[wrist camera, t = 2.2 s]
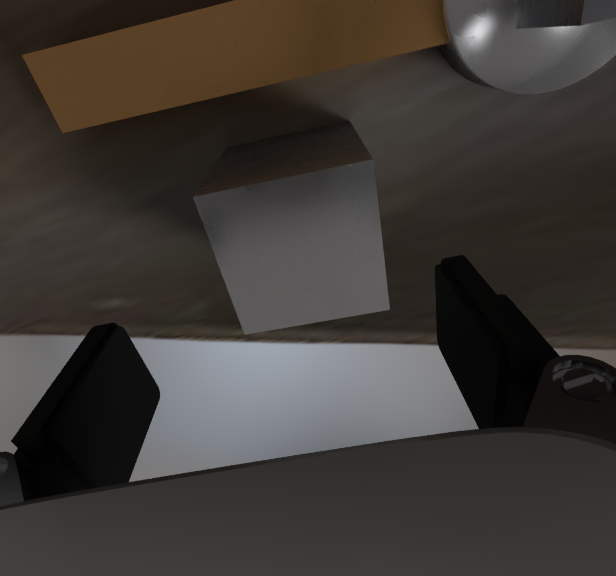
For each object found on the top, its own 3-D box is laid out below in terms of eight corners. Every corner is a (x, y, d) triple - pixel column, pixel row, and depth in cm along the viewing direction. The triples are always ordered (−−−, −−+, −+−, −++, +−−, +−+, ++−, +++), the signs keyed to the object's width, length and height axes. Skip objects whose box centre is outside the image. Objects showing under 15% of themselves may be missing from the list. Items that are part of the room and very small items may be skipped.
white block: (349, 121, 18) (373, 159, 13) (365, 236, 22) (389, 309, 16) (225, 148, 19) (192, 197, 13) (259, 256, 22) (244, 334, 16)
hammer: (660, -198, 13) (915, -365, 8) (609, 66, 17) (751, 78, 12) (11, -18, 15) (-146, -50, 10) (106, 176, 20) (33, 229, 14)
